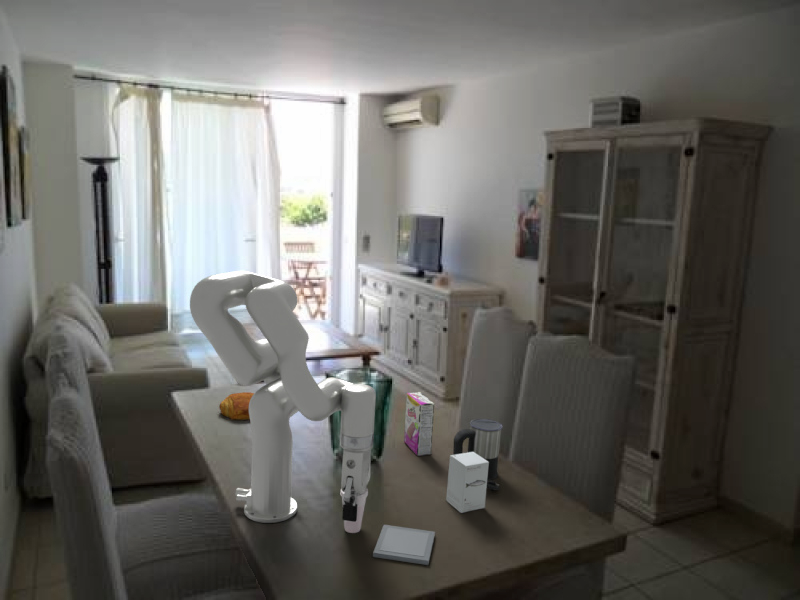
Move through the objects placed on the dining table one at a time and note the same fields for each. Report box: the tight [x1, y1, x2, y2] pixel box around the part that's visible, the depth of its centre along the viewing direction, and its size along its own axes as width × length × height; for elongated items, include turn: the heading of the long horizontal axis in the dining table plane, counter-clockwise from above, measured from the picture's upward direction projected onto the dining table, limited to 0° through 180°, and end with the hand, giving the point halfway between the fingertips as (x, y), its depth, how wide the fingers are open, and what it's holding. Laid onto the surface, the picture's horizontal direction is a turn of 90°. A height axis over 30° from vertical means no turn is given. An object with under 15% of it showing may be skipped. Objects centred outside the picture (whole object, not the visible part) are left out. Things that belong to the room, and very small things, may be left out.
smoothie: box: [339, 487, 369, 534], centre depth 146 cm, size 6×6×14 cm
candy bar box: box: [403, 391, 435, 457], centre depth 194 cm, size 11×5×16 cm, turn 22°
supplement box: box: [445, 452, 489, 514], centre depth 161 cm, size 7×7×13 cm
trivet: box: [372, 524, 436, 566], centre depth 141 cm, size 12×12×1 cm
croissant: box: [218, 391, 255, 421], centre depth 216 cm, size 14×16×8 cm
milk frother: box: [452, 418, 503, 492], centre depth 175 cm, size 14×16×15 cm
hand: (353, 512), depth 146 cm, fingers closed on smoothie, 6 cm apart
